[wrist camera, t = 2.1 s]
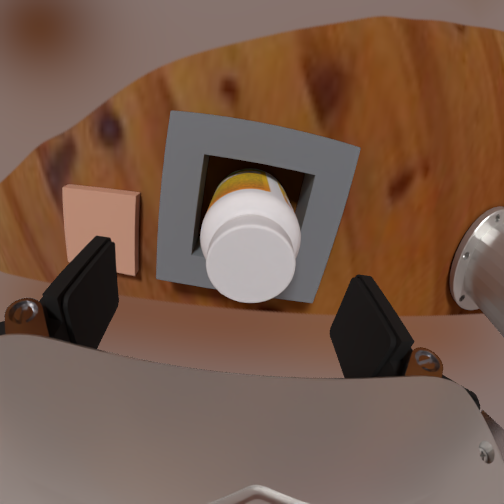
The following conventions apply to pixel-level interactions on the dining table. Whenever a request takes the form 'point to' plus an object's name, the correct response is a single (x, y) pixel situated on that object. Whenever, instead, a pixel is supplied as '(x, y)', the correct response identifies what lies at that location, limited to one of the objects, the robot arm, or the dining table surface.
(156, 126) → the dining table surface
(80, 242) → the mat
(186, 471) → the robot arm
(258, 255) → the supplement bottle
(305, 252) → the frame
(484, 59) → the dining table surface
